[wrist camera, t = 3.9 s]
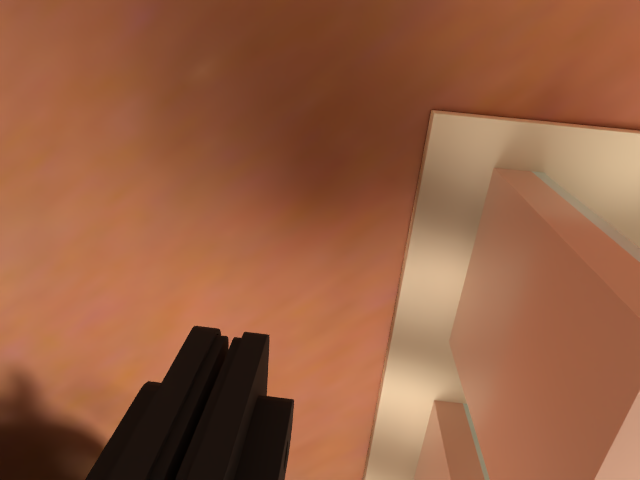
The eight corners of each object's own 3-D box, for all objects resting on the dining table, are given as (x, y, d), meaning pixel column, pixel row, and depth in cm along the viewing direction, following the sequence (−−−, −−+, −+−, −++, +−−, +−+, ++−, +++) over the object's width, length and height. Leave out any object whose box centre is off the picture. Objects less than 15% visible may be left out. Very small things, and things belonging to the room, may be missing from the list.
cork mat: (431, 110, 15) (434, 113, 14) (877, 154, 14) (898, 159, 14) (356, 511, 23) (356, 523, 23) (635, 545, 23) (641, 557, 22)
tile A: (493, 167, 15) (664, 343, 7) (543, 172, 15) (776, 355, 7) (448, 342, 18) (528, 609, 10) (490, 346, 18) (604, 619, 10)
